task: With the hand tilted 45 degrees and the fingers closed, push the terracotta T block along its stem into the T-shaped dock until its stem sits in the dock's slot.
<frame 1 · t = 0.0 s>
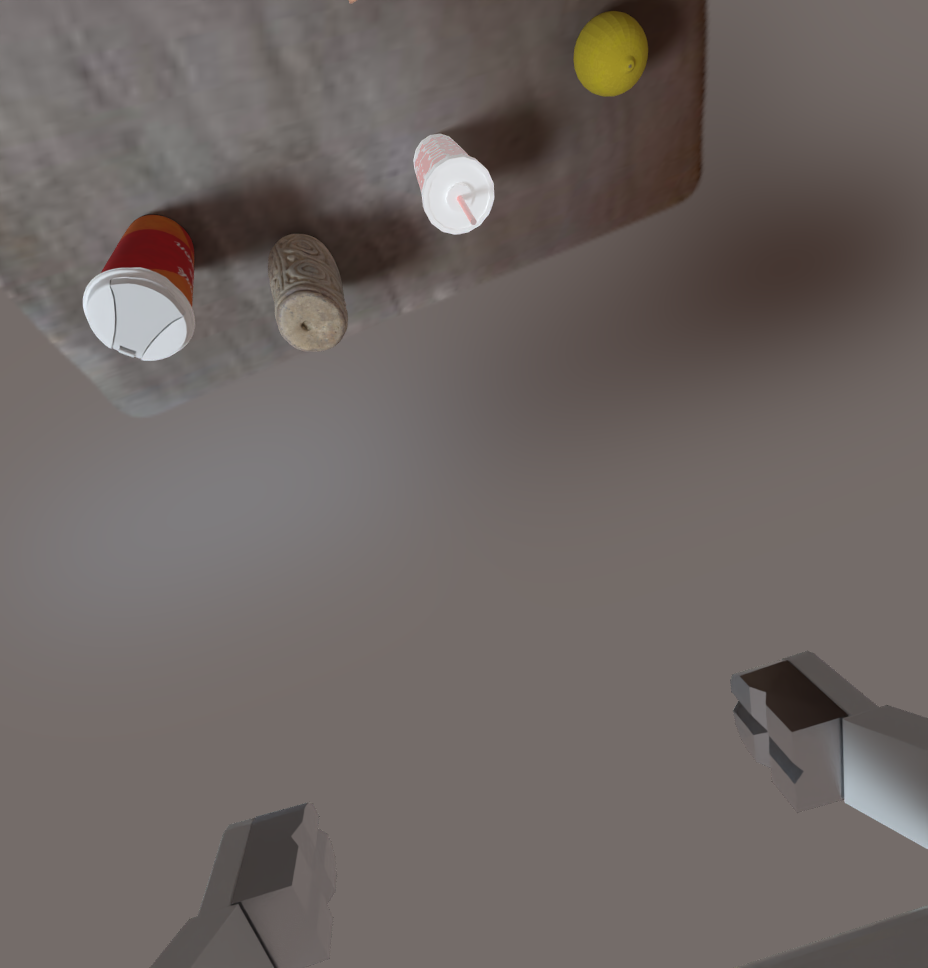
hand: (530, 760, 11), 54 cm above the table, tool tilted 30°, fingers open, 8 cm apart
beverage cup: (437, 160, 53), on the table
lemon: (590, 45, 50), on the table
carving: (304, 260, 57), on the table
paper cup: (161, 243, 53), on the table
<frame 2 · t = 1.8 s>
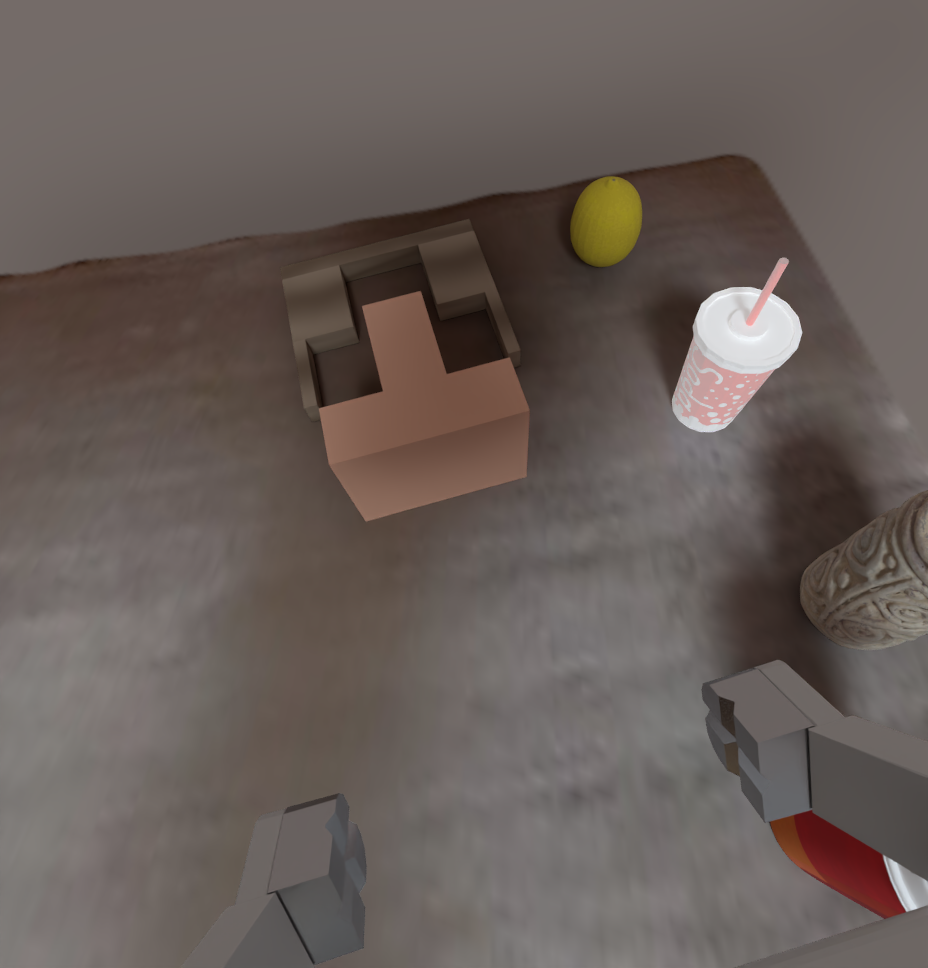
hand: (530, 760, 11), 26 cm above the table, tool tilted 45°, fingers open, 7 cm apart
beverage cup: (702, 407, 43), on the table
lemon: (598, 264, 49), on the table
t block: (428, 435, 43), on the table
t dock: (399, 331, 48), on the table
carving: (845, 602, 36), on the table
paper cup: (818, 819, 31), on the table
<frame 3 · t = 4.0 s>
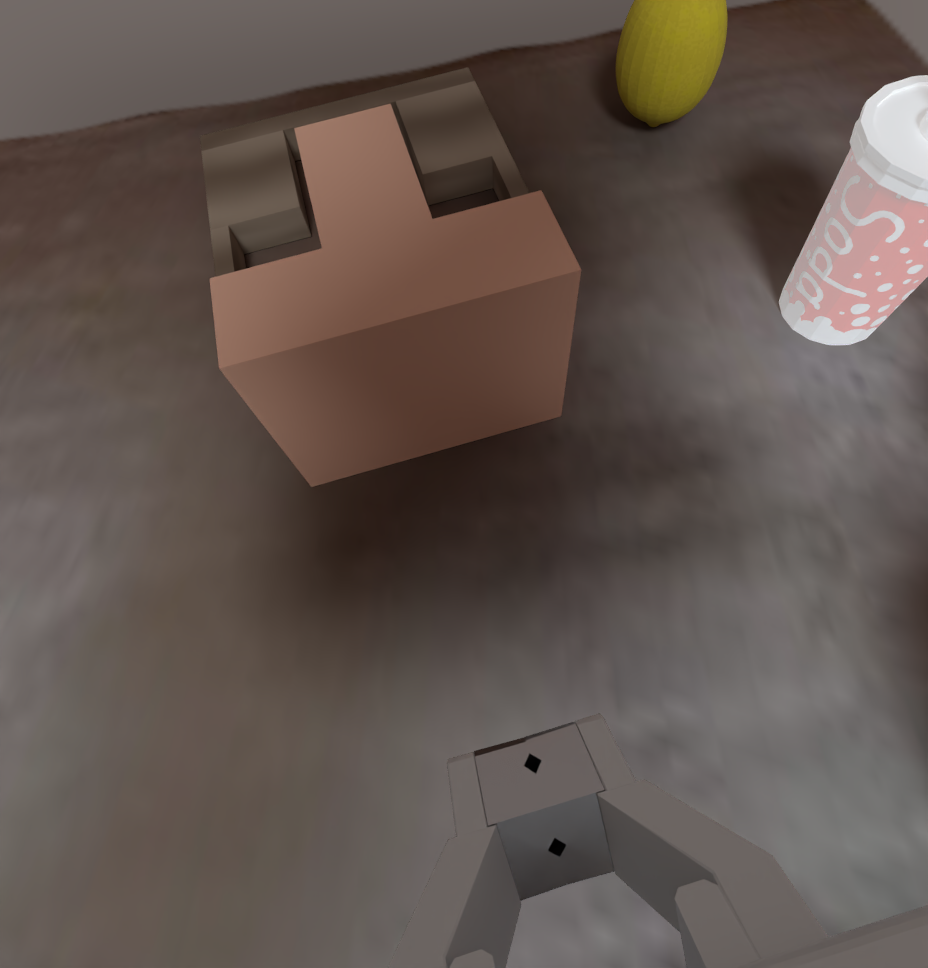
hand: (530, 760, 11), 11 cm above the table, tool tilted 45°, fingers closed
beverage cup: (826, 310, 28), on the table
lemon: (652, 128, 35), on the table
t block: (410, 359, 29), on the table
t dock: (369, 220, 33), on the table
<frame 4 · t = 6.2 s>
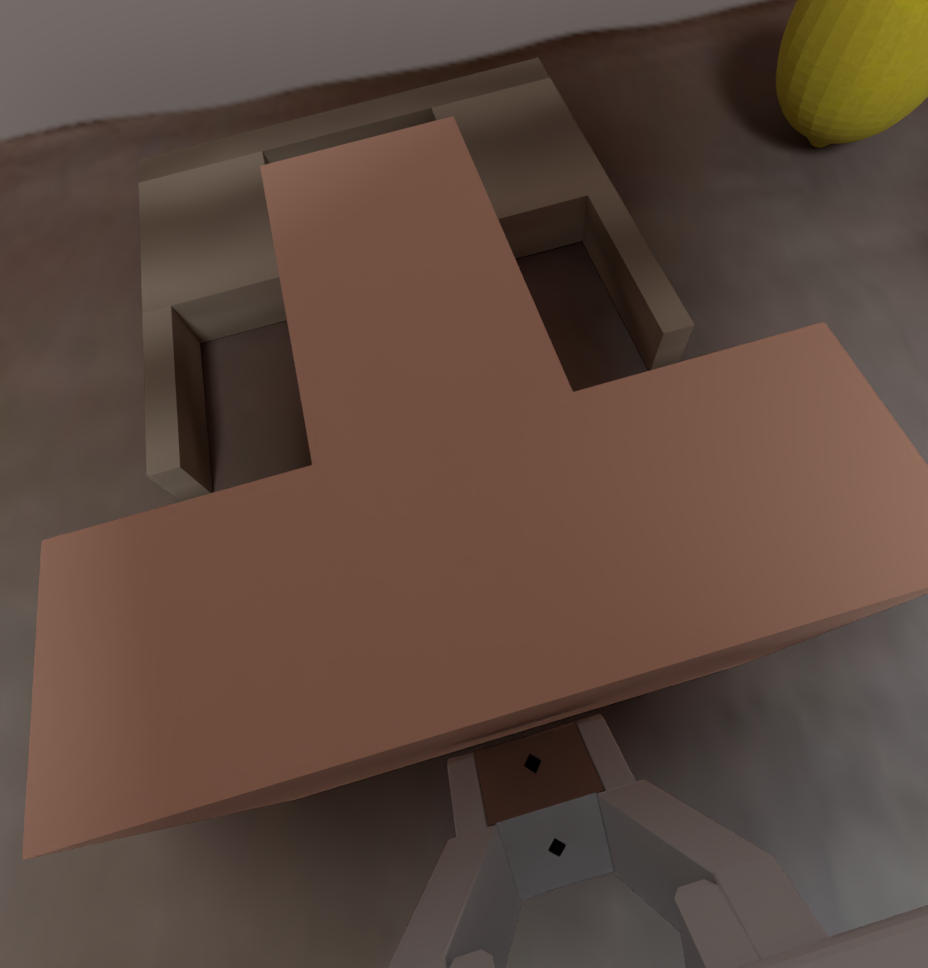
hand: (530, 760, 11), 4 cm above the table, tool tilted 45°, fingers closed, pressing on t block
lemon: (814, 149, 23), on the table
t block: (466, 539, 17), on the table, touching gripper
t dock: (393, 291, 22), on the table
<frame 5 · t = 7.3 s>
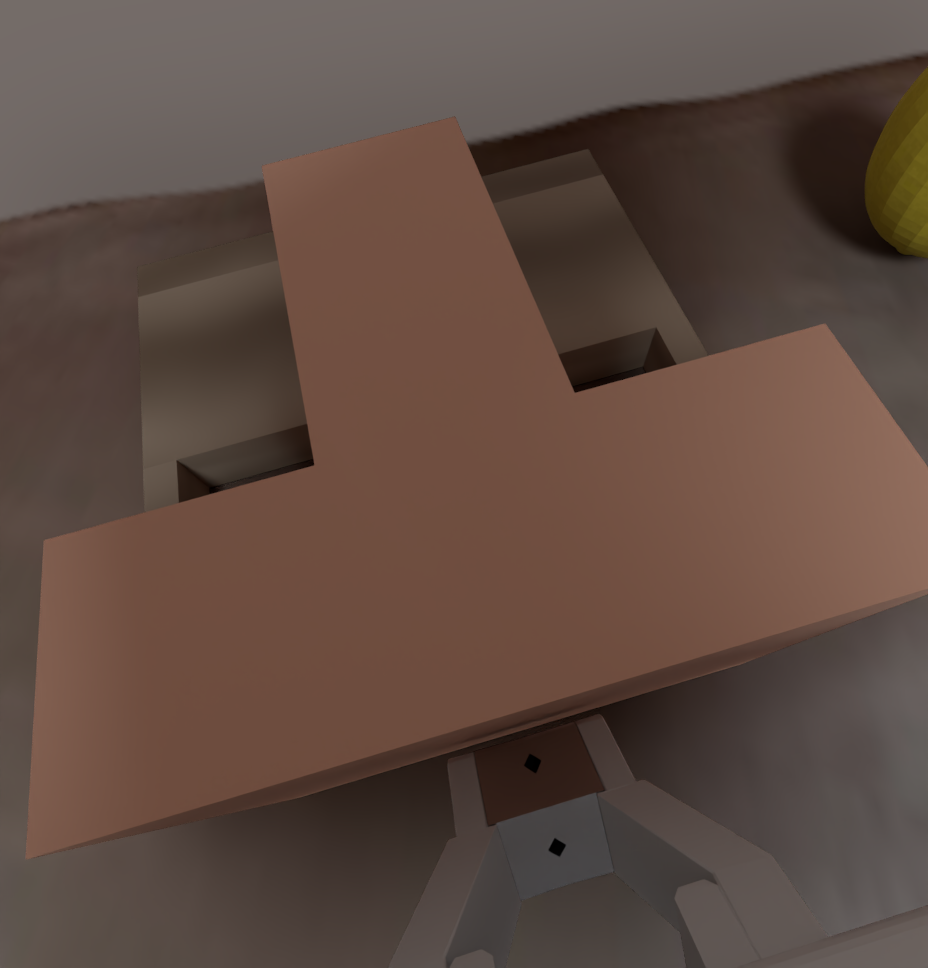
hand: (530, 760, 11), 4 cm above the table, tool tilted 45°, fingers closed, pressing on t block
lemon: (900, 254, 21), on the table
t block: (466, 539, 17), on the table, touching gripper
t dock: (429, 426, 19), on the table
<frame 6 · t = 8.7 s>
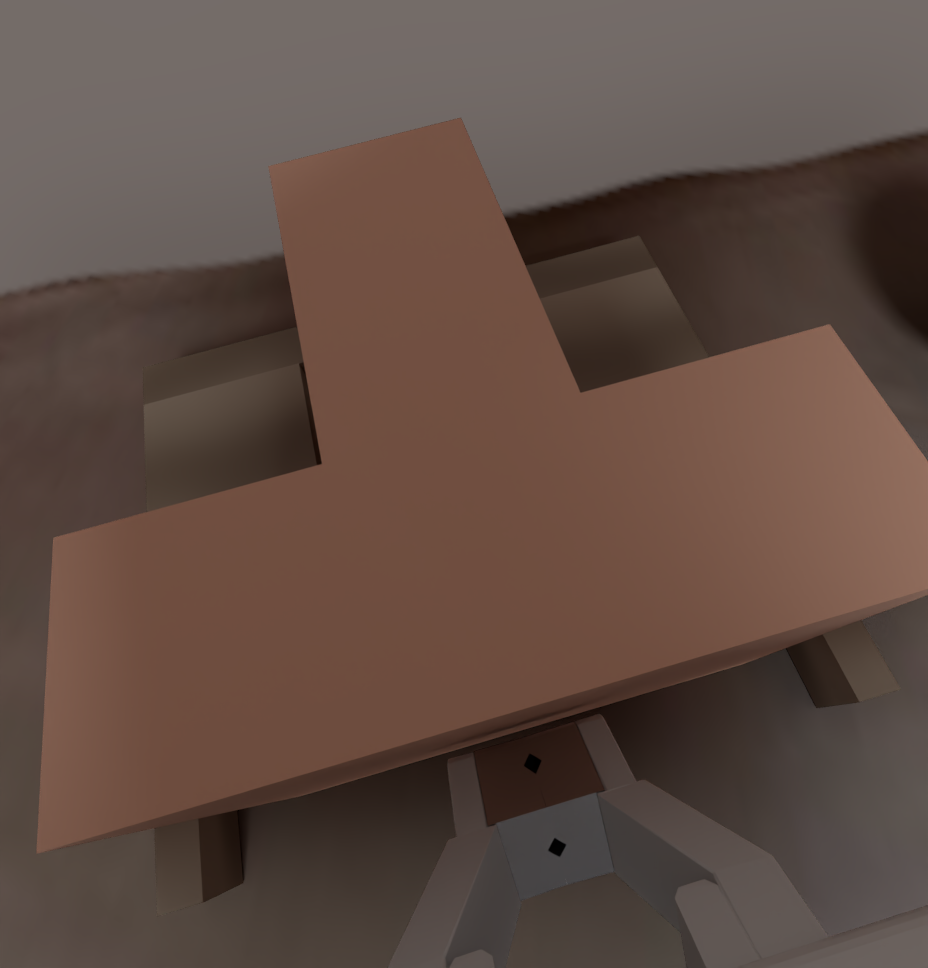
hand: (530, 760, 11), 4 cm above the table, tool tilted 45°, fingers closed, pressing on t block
t block: (469, 538, 17), on the table, touching gripper
t dock: (467, 555, 17), on the table
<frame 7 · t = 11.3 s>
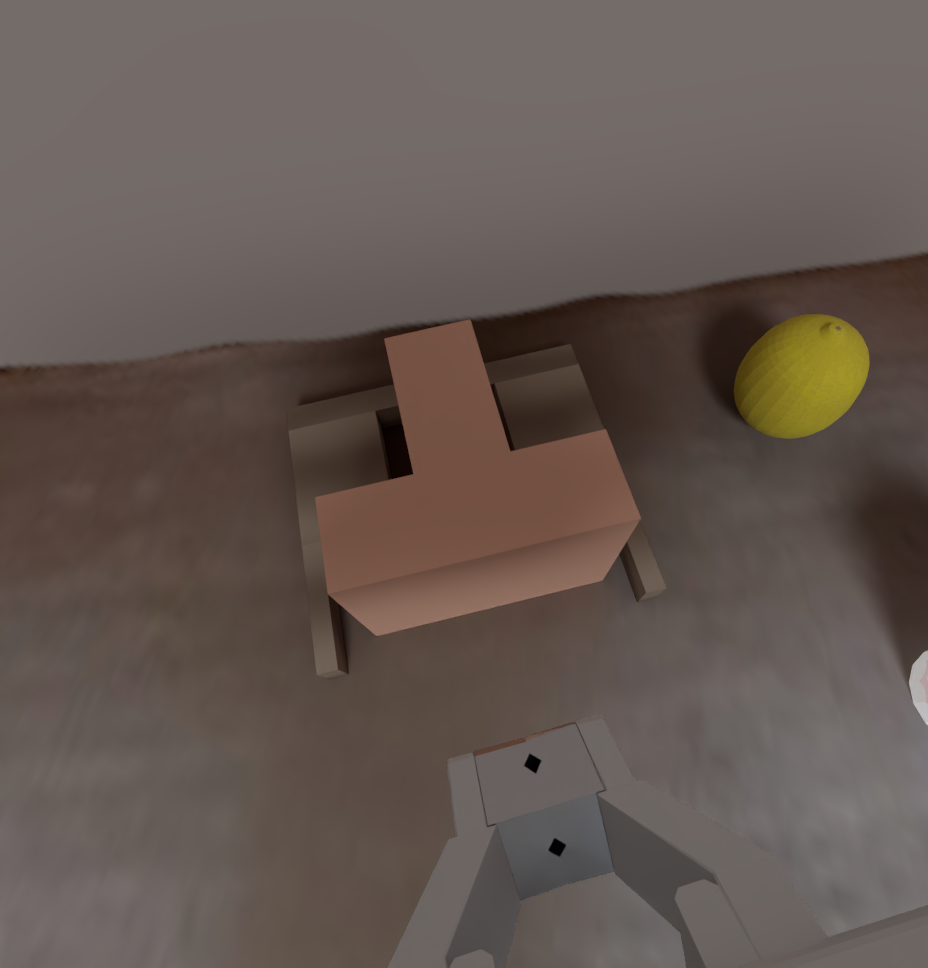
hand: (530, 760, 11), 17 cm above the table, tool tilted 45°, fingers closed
lemon: (762, 421, 33), on the table
t block: (466, 511, 32), on the table
t dock: (464, 520, 31), on the table
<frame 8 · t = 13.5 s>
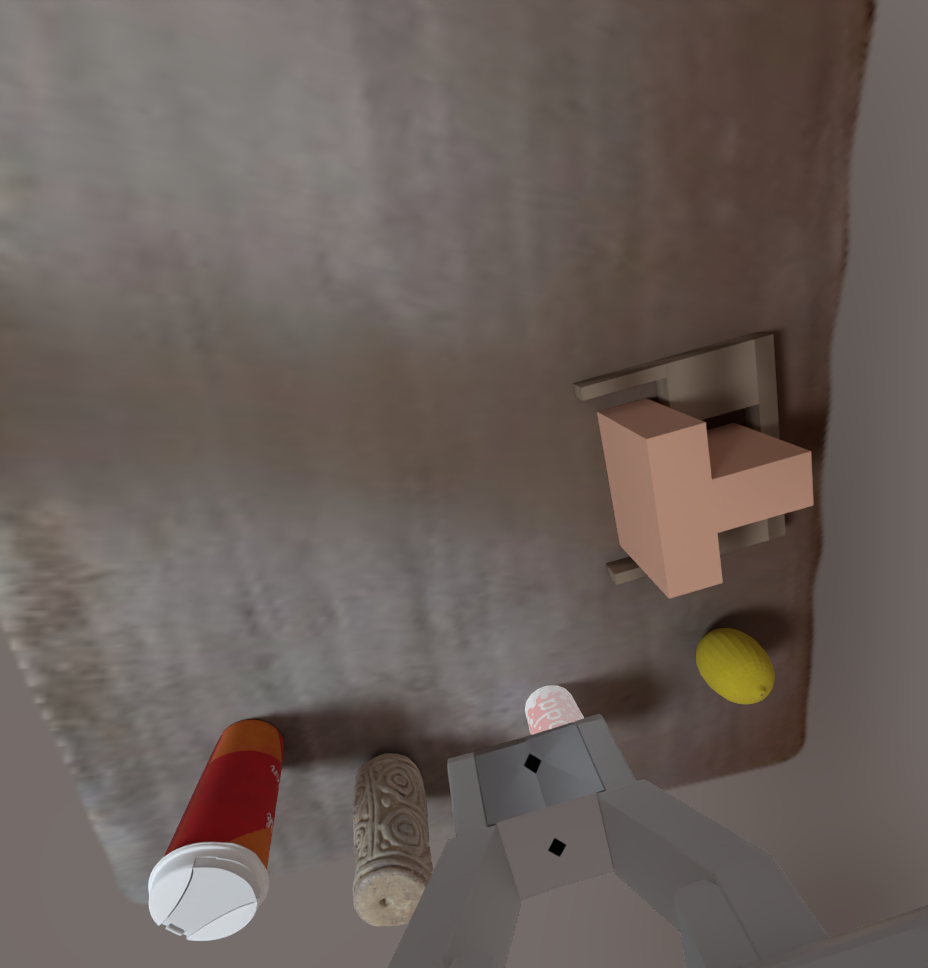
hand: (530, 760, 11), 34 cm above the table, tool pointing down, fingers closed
beverage cup: (548, 704, 53), on the table
lemon: (707, 636, 53), on the table
t block: (672, 463, 47), on the table
t dock: (666, 463, 47), on the table
carving: (390, 771, 53), on the table
paper cup: (252, 742, 50), on the table
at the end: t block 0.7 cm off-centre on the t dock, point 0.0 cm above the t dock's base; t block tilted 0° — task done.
